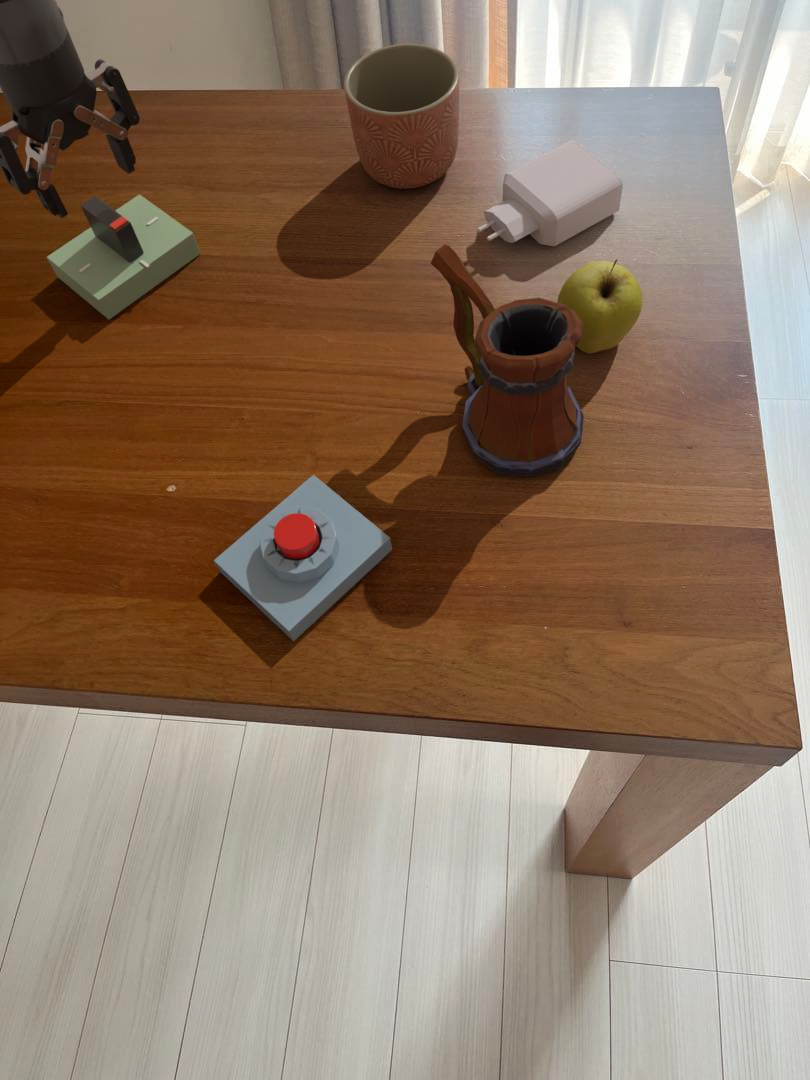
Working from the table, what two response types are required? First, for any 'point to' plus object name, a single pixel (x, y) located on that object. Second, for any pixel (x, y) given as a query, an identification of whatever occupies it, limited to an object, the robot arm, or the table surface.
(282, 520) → the button
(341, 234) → the table surface
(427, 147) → the planter
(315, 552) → the button box
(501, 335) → the mug
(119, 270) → the panel
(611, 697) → the table surface
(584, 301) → the apple
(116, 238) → the dark gray bar
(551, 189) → the charger
